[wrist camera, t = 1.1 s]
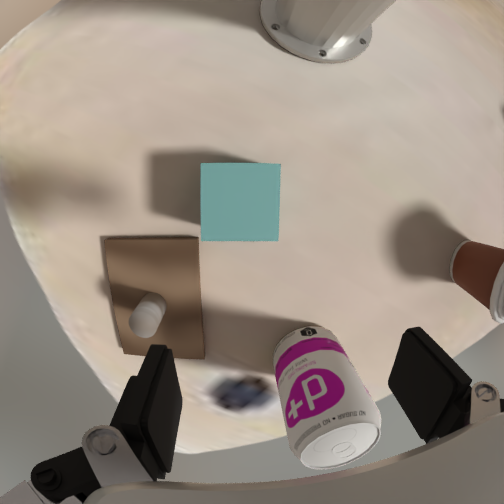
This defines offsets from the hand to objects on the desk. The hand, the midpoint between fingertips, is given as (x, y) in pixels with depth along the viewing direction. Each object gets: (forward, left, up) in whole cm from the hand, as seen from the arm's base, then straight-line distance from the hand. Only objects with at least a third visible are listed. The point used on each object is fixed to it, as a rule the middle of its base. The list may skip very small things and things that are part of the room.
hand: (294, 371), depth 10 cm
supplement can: (+13, +6, -19) cm, 24 cm away
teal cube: (-5, -2, -19) cm, 20 cm away
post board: (+6, -11, -19) cm, 23 cm away
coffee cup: (+2, +29, -19) cm, 35 cm away
